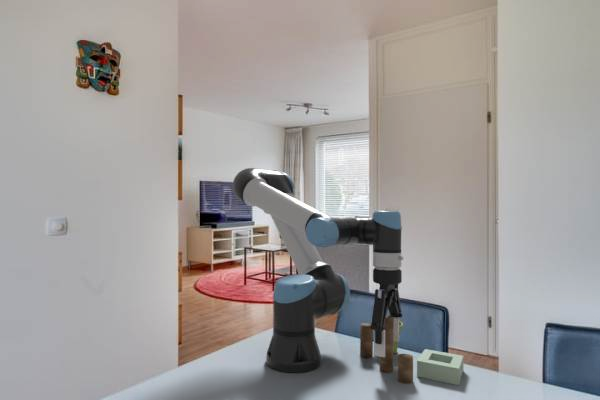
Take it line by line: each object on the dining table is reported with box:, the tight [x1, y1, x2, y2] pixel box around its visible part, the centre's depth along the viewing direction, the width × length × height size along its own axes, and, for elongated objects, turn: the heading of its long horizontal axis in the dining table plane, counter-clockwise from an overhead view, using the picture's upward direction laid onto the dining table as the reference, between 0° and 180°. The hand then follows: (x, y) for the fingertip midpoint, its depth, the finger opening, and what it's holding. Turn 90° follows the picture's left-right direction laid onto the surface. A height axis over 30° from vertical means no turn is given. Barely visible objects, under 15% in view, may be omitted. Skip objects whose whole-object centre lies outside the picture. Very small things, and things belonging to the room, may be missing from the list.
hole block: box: [416, 348, 464, 386], centre depth 101 cm, size 10×10×4 cm
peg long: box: [379, 314, 395, 374], centre depth 103 cm, size 4×4×14 cm
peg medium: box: [359, 322, 374, 359], centre depth 113 cm, size 4×4×9 cm
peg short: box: [397, 353, 414, 385], centre depth 97 cm, size 4×4×6 cm
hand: (387, 348), depth 103 cm, fingers open, 13 cm apart
